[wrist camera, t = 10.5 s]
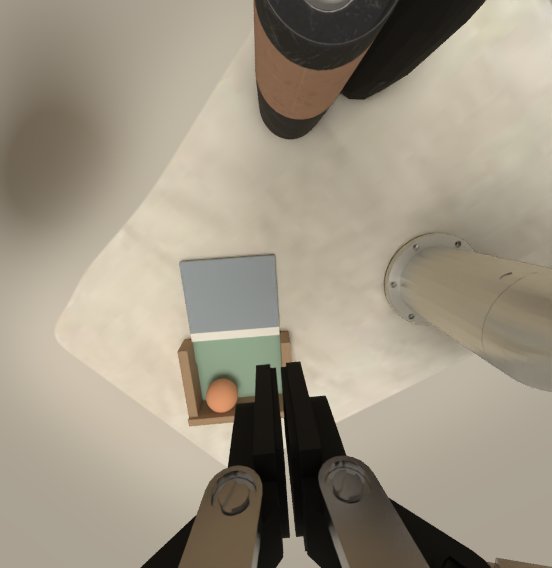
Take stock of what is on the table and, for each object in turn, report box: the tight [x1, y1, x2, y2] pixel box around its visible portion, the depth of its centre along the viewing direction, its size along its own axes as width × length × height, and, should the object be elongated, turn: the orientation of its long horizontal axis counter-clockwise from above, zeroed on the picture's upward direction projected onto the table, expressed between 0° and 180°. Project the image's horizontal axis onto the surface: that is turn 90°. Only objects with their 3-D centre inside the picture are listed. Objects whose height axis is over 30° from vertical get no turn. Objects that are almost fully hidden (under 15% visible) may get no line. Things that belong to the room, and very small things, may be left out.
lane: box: [178, 254, 291, 426], centre depth 37 cm, size 14×22×4 cm, turn 4°
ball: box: [206, 378, 238, 413], centre depth 39 cm, size 4×4×4 cm
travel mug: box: [254, 0, 399, 139], centre depth 22 cm, size 8×8×20 cm
